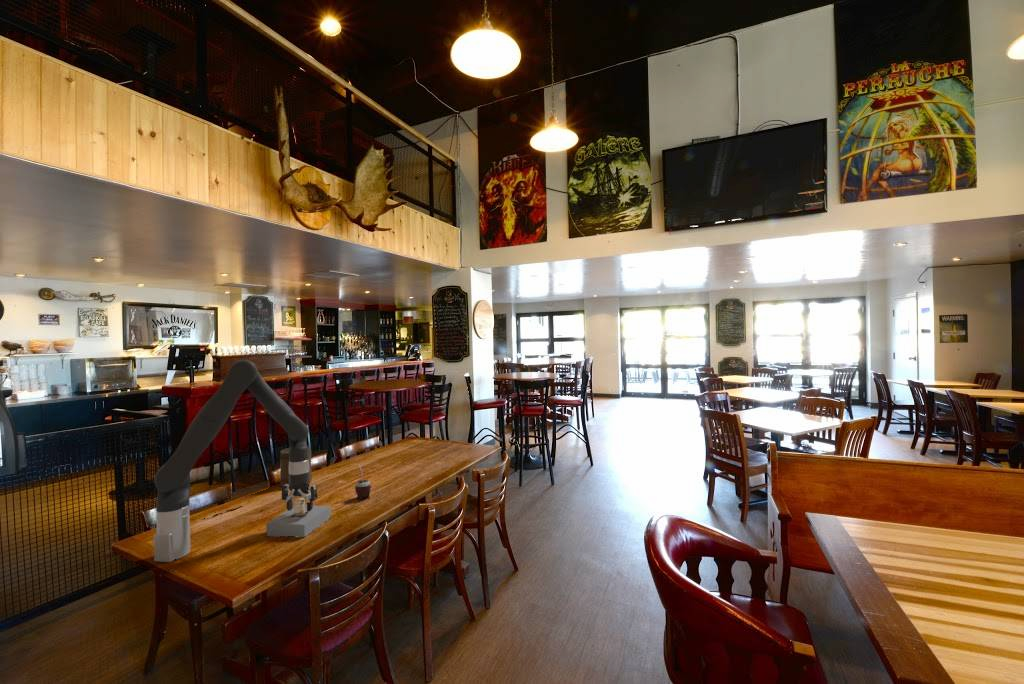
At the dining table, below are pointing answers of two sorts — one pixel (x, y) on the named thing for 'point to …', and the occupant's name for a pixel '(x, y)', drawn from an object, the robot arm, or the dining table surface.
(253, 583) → the dining table surface
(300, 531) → the socket block
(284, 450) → the wooden container
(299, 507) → the peg
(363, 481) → the mate gourd
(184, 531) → the robot arm
